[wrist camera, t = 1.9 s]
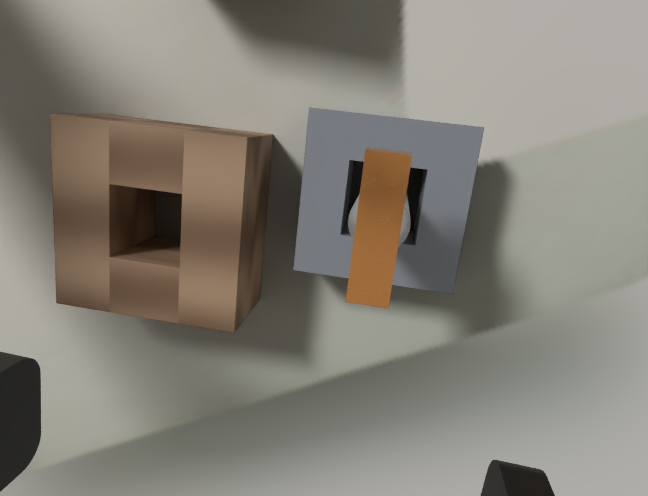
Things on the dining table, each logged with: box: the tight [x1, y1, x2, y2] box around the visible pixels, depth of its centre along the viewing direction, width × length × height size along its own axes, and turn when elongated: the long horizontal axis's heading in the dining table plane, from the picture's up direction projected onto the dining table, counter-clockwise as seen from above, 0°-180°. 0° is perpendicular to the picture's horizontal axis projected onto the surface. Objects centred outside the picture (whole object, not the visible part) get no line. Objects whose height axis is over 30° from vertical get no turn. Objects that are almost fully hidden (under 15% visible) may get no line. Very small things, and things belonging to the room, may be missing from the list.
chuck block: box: [50, 113, 273, 333], centre depth 33 cm, size 12×12×6 cm
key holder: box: [293, 108, 484, 294], centre depth 32 cm, size 10×10×4 cm
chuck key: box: [346, 147, 412, 308], centre depth 28 cm, size 7×3×12 cm, turn 174°
